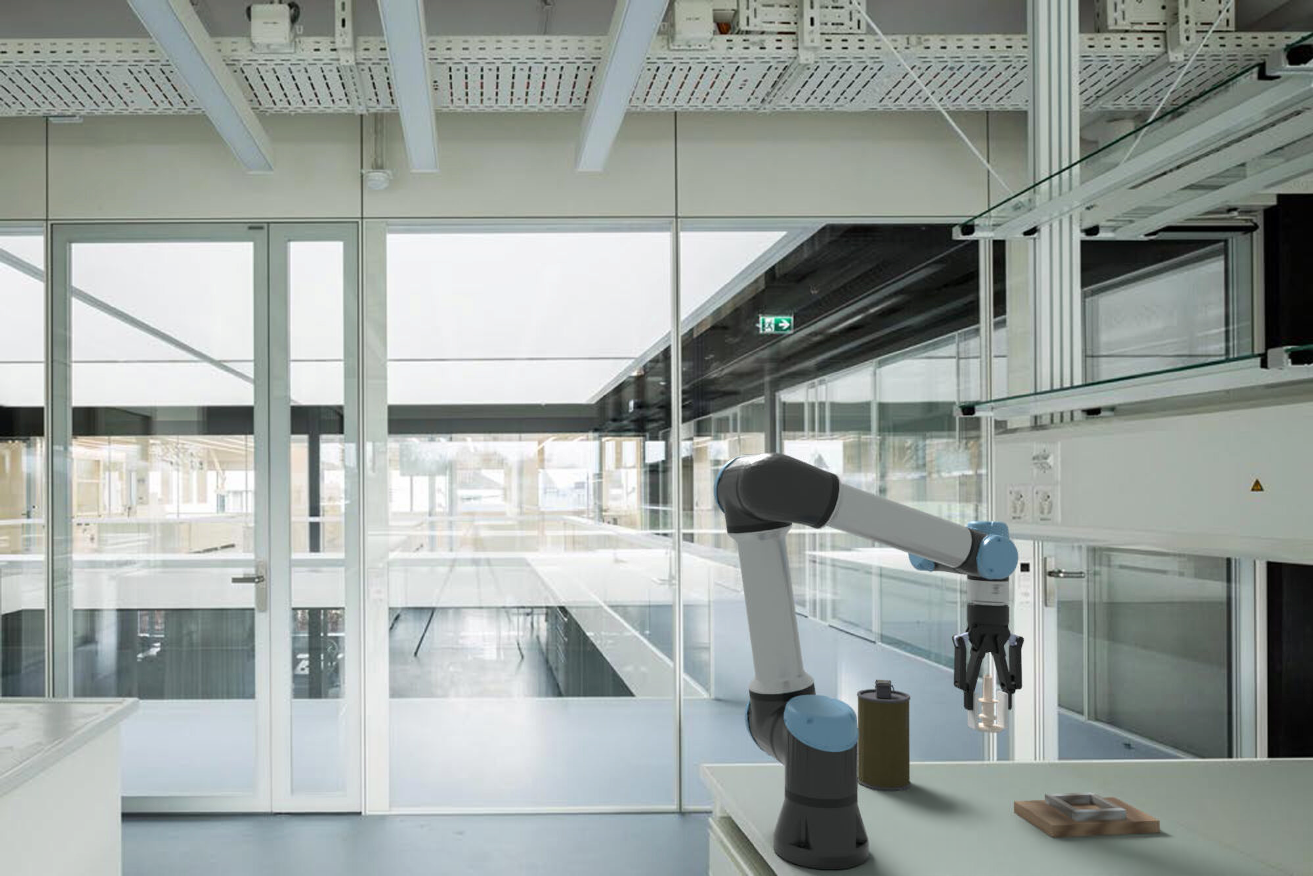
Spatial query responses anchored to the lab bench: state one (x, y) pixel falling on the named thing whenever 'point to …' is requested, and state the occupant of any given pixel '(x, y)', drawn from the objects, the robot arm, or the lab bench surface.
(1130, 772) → the lab bench surface
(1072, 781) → the lab bench surface
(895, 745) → the canister
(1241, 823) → the lab bench surface
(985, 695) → the candle
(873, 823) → the lab bench surface
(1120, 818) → the board
